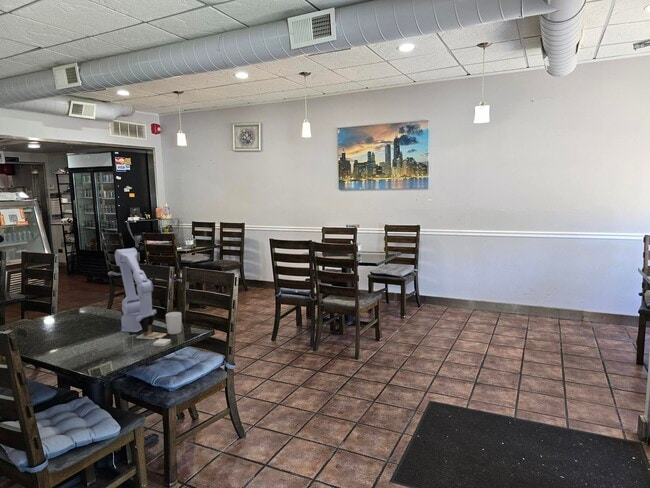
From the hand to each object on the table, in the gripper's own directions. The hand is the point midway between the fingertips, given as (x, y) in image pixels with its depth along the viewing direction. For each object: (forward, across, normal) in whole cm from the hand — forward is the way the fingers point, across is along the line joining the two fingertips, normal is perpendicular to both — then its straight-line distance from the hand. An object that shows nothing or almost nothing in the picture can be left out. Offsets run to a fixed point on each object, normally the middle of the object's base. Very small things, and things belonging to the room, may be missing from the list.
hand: (147, 330), depth 220 cm
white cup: (+3, +8, -10) cm, 14 cm away
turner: (+2, 0, -4) cm, 5 cm away
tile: (+2, -9, -11) cm, 14 cm away
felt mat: (+3, 0, -1) cm, 3 cm away
